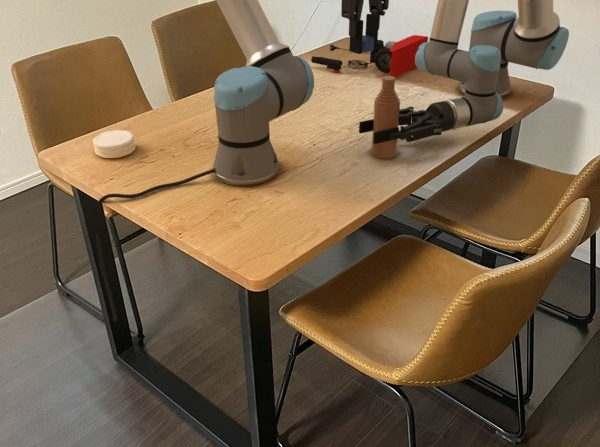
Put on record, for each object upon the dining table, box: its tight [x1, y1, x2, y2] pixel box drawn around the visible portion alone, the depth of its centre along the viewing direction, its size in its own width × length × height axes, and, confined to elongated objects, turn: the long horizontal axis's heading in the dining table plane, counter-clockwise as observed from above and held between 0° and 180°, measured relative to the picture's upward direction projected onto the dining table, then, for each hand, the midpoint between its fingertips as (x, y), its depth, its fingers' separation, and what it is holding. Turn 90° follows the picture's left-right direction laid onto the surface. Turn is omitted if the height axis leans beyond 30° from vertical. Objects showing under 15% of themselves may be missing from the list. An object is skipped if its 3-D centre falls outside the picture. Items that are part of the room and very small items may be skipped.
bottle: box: [371, 75, 401, 160], centre depth 148 cm, size 6×6×19 cm
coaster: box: [92, 129, 137, 159], centre depth 155 cm, size 10×10×4 cm
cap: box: [362, 34, 374, 53], centre depth 126 cm, size 4×4×2 cm
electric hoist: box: [310, 34, 429, 78], centre depth 208 cm, size 10×27×30 cm
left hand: (363, 49), depth 127 cm, fingers closed on cap, 4 cm apart
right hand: (367, 132), depth 148 cm, fingers closed on bottle, 6 cm apart
